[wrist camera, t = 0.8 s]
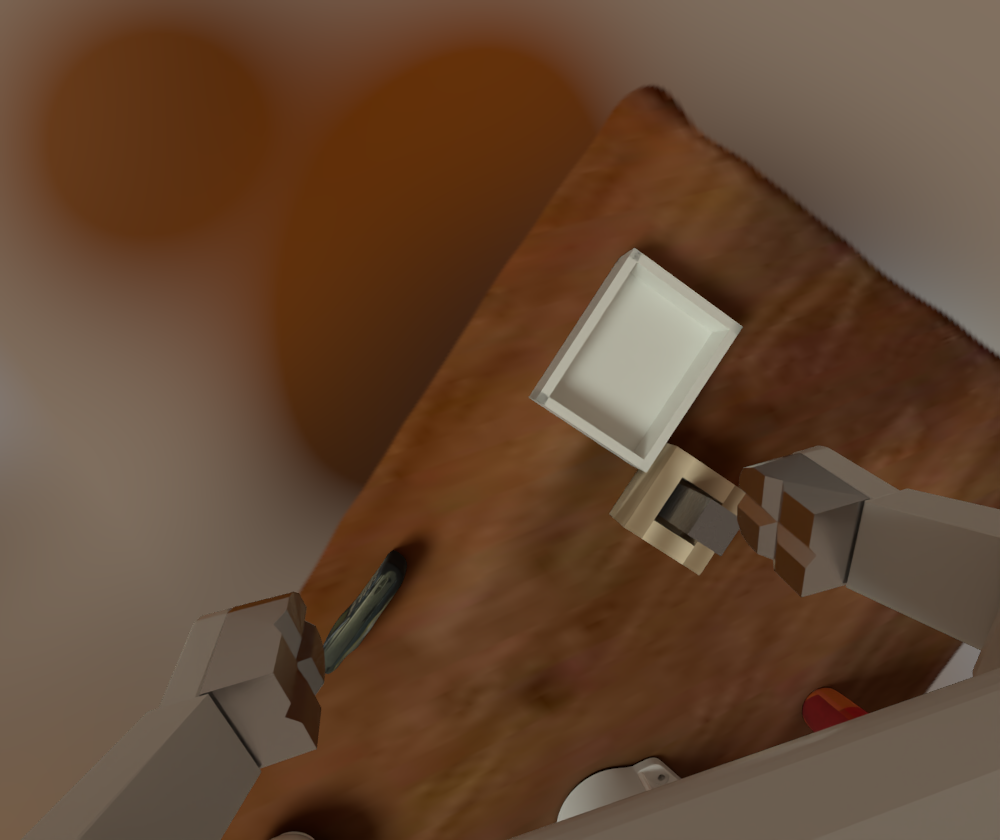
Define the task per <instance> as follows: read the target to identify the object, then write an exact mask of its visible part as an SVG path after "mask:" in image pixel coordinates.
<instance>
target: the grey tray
mask: <svg viewBox="0 0 1000 840" xmlns="http://www.w3.org/2000/svg"><path fill="white" fill-rule="evenodd" d="M741 329H742V326H741V325H740V324H738V323H737V322H736V321H734V320H733V319H731V318H730V317H729V316H727V315H726V314H725V313H723V312H722V311H721V310H719V309H718V308H716V307H715V306H714V305H712V304H711V303H710V302H708V301H707V300H705V299H704V298H703V297H701V296H700V295H699V294H697V293H696V292H695V291H693V290H692V289H690V288H689V287H688V286H686V285H685V284H684V283H682V282H681V281H679V280H678V279H677V278H675V277H674V276H673V275H671V274H670V273H669V272H667V271H666V270H664V269H663V268H662V267H660V266H659V265H658V264H656V263H655V262H653V261H652V260H651V259H649V258H648V257H647V256H645V255H644V254H643V253H641V252H640V251H638V250H637V249H636V248H633V249H632V250H630V251H629V252H627V253H626V254H624V255H623V256H621V257H620V258H619V259H618V261H617V262H616V264H615V265H614V267H613V268H612V270H611V272H610V273H609V275H608V276H607V278H606V279H605V281H604V282H603V284H602V285H601V287H600V288H599V290H598V292H597V293H596V295H595V296H594V298H593V299H592V301H591V302H590V304H589V305H588V307H587V308H586V310H585V312H584V313H583V315H582V316H581V318H580V319H579V321H578V322H577V324H576V325H575V327H574V328H573V330H572V332H571V333H570V335H569V336H568V338H567V339H566V341H565V342H564V344H563V345H562V347H561V348H560V350H559V352H558V353H557V355H556V356H555V358H554V359H553V361H552V362H551V364H550V365H549V367H548V368H547V370H546V372H545V373H544V375H543V376H542V378H541V379H540V381H539V382H538V384H537V385H536V387H535V388H534V390H533V392H532V393H531V395H530V396H529V398H530V399H531V400H533V401H535V402H536V403H538V404H539V405H541V406H542V407H544V408H545V409H547V410H548V411H550V412H551V413H553V414H554V415H556V416H557V417H559V418H560V419H562V420H563V421H565V422H566V423H568V424H569V425H571V426H573V427H574V428H576V429H577V430H579V431H580V432H582V433H583V434H585V435H586V436H588V437H589V438H591V439H592V440H594V441H595V442H597V443H598V444H600V445H601V446H603V447H604V448H606V449H607V450H609V451H611V452H612V453H614V454H615V455H617V456H618V457H620V458H621V459H623V460H624V461H626V462H627V463H629V464H630V465H632V466H634V467H636V468H638V469H640V470H642V471H644V472H646V473H647V471H648V470H649V468H650V467H651V465H652V464H653V462H654V461H655V459H656V458H657V456H658V455H659V453H660V452H661V450H662V449H663V447H664V446H665V444H666V443H667V441H668V440H669V438H670V436H671V435H672V433H673V432H674V430H675V429H676V427H677V426H678V424H679V423H680V421H681V420H682V418H683V417H684V415H685V414H686V412H687V411H688V409H689V408H690V406H691V405H692V403H693V402H694V400H695V399H696V397H697V396H698V394H699V393H700V391H701V389H702V388H703V386H704V385H705V383H706V382H707V380H708V379H709V377H710V376H711V374H712V373H713V371H714V370H715V368H716V367H717V365H718V364H719V362H720V361H721V359H722V358H723V356H724V355H725V353H726V352H727V350H728V349H729V347H730V346H731V344H732V342H733V341H734V339H735V338H736V336H737V335H738V333H739V332H740V330H741Z"/></svg>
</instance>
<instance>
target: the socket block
mask: <svg viewBox="0 0 1000 840" xmlns="http://www.w3.org/2000/svg"><path fill="white" fill-rule="evenodd" d="M678 483H679V484H681V485H683V486H686V487H688V488H690V489H692V490H694V491H696V492H698V493H700V494H702V495H704V496H706V497H708V498H711V499H712V500H714V501H715V502H717V503H718V504H720V505H721V506H723V507H724V508H726V509H727V510H729V511H730V512H732V513H733V514H735V515H736V516H737V505H738V504H739V503H740V501H741V500H742V498H743V497H744V495H745V493H744V492H743V491H742V490H741V489H740V488H738V487H737V486H735V485H734V484H733V483H731V482H730V481H728V480H727V479H725V478H724V477H722V476H721V475H719V474H718V473H716V472H715V471H713V470H712V469H710V468H709V467H707V466H706V465H704V464H703V463H701V462H700V461H698V460H697V459H695V458H694V457H692V456H691V455H690V454H688V453H687V452H685V451H684V450H682V449H681V448H679V447H678V446H675V445H672V444H668V443H666V444H665V446H664V447H663V449H662V450H661V452H660V453H659V455H658V456H657V458H656V459H655V461H654V462H653V464H652V465H651V467H650V468H649V470H648V471H647V473H646V472H644V471H642V470H640V469H638V471H637V472H636V474H635V475H634V477H633V478H632V480H631V481H630V483H629V484H628V486H627V487H626V489H625V490H624V492H623V493H622V495H621V496H620V498H619V500H618V501H617V503H616V504H615V506H614V507H613V509H612V510H611V512H610V513H609V514H610V515H611V516H612V517H613V518H614V519H615V520H616V521H617V522H619V523H620V524H621V525H622V526H623V527H624V528H626V529H627V530H629V531H631V532H632V533H634V534H635V535H637V536H638V537H640V538H642V539H643V540H645V541H646V542H648V543H649V544H651V545H653V546H654V547H656V548H657V549H659V550H660V551H662V552H664V553H665V554H667V555H668V556H670V557H671V558H673V559H675V560H676V561H678V562H679V563H681V564H683V565H684V566H686V567H687V568H689V569H690V570H692V571H694V572H695V573H697V574H698V575H700V574H701V572H702V571H703V569H704V568H705V566H706V565H707V563H708V562H709V560H710V559H711V557H712V556H713V554H714V553H715V552H714V551H712V550H710V549H709V548H707V547H706V546H704V545H703V544H701V543H700V542H698V541H697V540H695V539H693V538H692V537H690V536H689V535H687V534H686V533H684V532H683V531H681V530H680V529H678V528H677V527H676V526H674V525H673V524H671V523H670V522H668V521H667V520H665V519H664V518H662V517H661V516H659V515H658V513H659V512H660V510H661V509H662V507H663V506H664V504H665V503H666V501H667V500H668V498H669V497H670V495H671V494H672V492H673V491H674V489H675V488H676V486H677V485H678Z"/></svg>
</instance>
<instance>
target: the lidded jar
mask: <svg viewBox="0 0 1000 840" xmlns="http://www.w3.org/2000/svg"><path fill="white" fill-rule="evenodd" d="M270 840H315V839H314V838H312V837H311V836H310V835H308V834H306V833H303V832H298V831H291V832H286V833H283V834H280V835H279V836H277V837H274V838H272V839H270Z"/></svg>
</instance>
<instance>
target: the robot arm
mask: <svg viewBox="0 0 1000 840" xmlns="http://www.w3.org/2000/svg"><path fill="white" fill-rule="evenodd" d="M739 487H740V488H741V489H742V491H743V492H744V493H745V495H744V497H743V498H742V500H741V501H740V503H739V504H738V505H737V522H738V525H739V528H740V531H741V534H742V535H743V537H744V539H745V540H746V542H747V543H748V545H749V546H750V547H751V548H752V549H753V550H754V551H755V552H756V553H757V554H760V555H762V556H765V557H768V558H770V559H773V562H774V571H775V572H776V573H777V574H778V575H779V576H780V577H781V578H782V579H783V580H784V581H785V582H786V583H787V584H788V585H789V586H790V587H791V588H792V589H793V590H794V591H795V592H796V593H797V594H798V595H799V596H800V597H804V596H807V595H811V594H815V593H818V592H822V591H825V590H829V589H832V588H836V587H839V586H843V585H846V587H847V588H849V589H851V590H853V591H855V592H858V593H860V594H862V595H864V596H866V597H868V598H870V599H872V600H875V601H877V602H879V603H881V604H883V605H885V606H887V607H890V608H892V609H894V610H896V611H898V612H900V613H902V614H904V615H907V616H909V617H911V618H913V619H915V620H917V621H919V622H921V623H924V624H926V625H928V626H930V627H932V628H934V629H936V630H939V631H941V632H943V633H945V634H947V635H949V636H951V637H953V638H956V639H958V640H960V641H962V642H964V643H966V644H968V645H971V646H973V647H975V648H977V649H979V650H981V652H980V655H979V657H978V660H977V662H976V664H975V666H974V669H973V677H972V678H970V679H966V680H963V681H961V682H958V683H955V684H952V685H949V686H946V687H943V688H940V689H938V690H935V691H932V692H929V693H926V694H923V695H920V696H917V697H915V698H912V699H909V700H906V701H903V702H900V703H897V704H895V705H892V706H889V707H886V708H883V709H880V710H877V711H875V712H872V713H869V714H866V715H863V716H860V717H857V718H854V719H852V720H849V721H846V722H843V723H840V724H837V725H834V726H832V727H829V728H826V729H823V730H820V731H817V732H814V733H811V734H809V735H806V736H803V737H800V738H797V739H794V740H791V741H789V742H786V743H783V744H780V745H777V746H774V747H771V748H768V749H766V750H763V751H760V752H757V753H754V754H751V755H748V756H746V757H743V758H740V759H737V760H734V761H731V762H728V763H725V764H723V765H720V766H717V767H714V768H711V769H708V770H705V771H702V772H700V773H697V774H694V775H691V776H688V777H685V778H682V779H681V778H680V777H679V776H678V775H676V774H675V773H674V772H673V771H672V770H671V769H670V768H669V767H667V766H666V765H665V764H664V763H663V762H662V761H661V760H659V759H658V758H649V759H646V760H644V761H641V762H639V763H637V764H636V765H634V766H631V767H625V768H615V769H609V770H605V771H602V772H599V773H597V774H594V775H592V776H591V777H589V778H587V779H586V780H584V781H583V782H581V783H580V784H579V785H578V786H577V787H576V788H575V789H574V790H573V791H572V792H571V793H570V794H569V796H568V797H567V799H566V800H565V802H564V804H563V806H562V808H561V810H560V813H559V816H558V820H557V822H556V823H553V824H551V825H548V826H545V827H542V828H539V829H536V830H533V831H531V832H528V833H525V834H522V835H519V836H516V837H513V838H511V839H508V840H1000V510H999V509H995V508H990V507H986V506H982V505H977V504H973V503H969V502H964V501H960V500H955V499H951V498H947V497H942V496H938V495H934V494H929V493H925V492H920V491H916V490H912V489H905V490H901V491H899V490H898V489H896V488H894V487H893V486H891V485H889V484H888V483H886V482H884V481H883V480H881V479H879V478H878V477H876V476H874V475H873V474H871V473H869V472H868V471H866V470H864V469H863V468H861V467H859V466H858V465H856V464H854V463H853V462H851V461H849V460H848V459H846V458H844V457H843V456H841V455H839V454H838V453H836V452H834V451H833V450H831V449H829V448H827V447H823V446H815V447H812V448H809V449H805V450H802V451H799V452H795V453H793V454H791V455H787V456H783V457H780V458H776V459H773V460H769V461H766V462H762V463H759V464H755V465H752V466H748V467H745V468H743V470H742V472H741V474H740V478H739ZM306 608H307V607H306V605H305V604H304V602H303V600H302V598H301V596H300V594H299V593H296V592H291V593H287V594H283V595H279V596H275V597H271V598H267V599H263V600H259V601H255V602H251V603H247V604H243V605H239V606H235V607H233V608H230V609H225V610H221V611H217V612H214V613H210V614H206V615H202V616H201V617H200V618H199V619H197V620H196V621H195V622H194V624H193V626H192V629H191V631H190V634H189V636H188V638H187V641H186V644H185V646H184V648H183V650H182V653H181V655H180V658H179V660H178V663H177V665H176V667H175V670H174V672H173V674H172V677H171V679H170V682H169V684H168V686H167V689H166V691H165V694H164V696H163V699H162V701H161V703H160V706H159V708H158V709H155V710H151V711H148V712H147V713H146V714H145V715H144V716H143V717H142V718H141V719H140V720H139V721H138V722H137V723H136V724H135V725H134V726H133V727H132V728H131V729H130V730H129V731H128V732H127V733H126V734H125V735H124V736H123V737H122V738H121V739H120V740H119V741H118V742H117V743H116V744H115V745H114V746H113V747H112V748H111V749H110V750H109V751H108V752H107V753H106V754H105V755H104V756H103V757H102V758H101V759H100V760H99V761H98V762H97V763H96V764H95V765H94V766H93V768H92V769H90V770H89V771H88V772H87V773H86V774H85V775H84V777H82V779H80V781H78V783H76V785H75V786H74V787H73V788H72V789H71V790H70V791H69V792H68V793H67V794H66V795H65V796H64V797H63V798H62V799H61V800H60V801H59V802H58V803H57V804H56V805H55V806H54V807H53V808H52V809H51V810H50V811H49V812H48V813H47V814H46V815H45V816H44V817H43V818H42V819H41V820H40V821H39V822H38V823H37V824H36V825H35V826H34V827H33V828H32V829H31V830H30V831H29V832H28V833H27V834H26V835H25V836H24V837H23V838H22V839H21V840H221V838H222V836H223V835H224V833H225V831H226V830H227V828H228V826H229V825H230V823H231V821H232V820H233V818H234V816H235V815H236V813H237V811H238V810H239V808H240V806H241V805H242V803H243V801H244V800H245V798H246V796H247V795H248V793H249V791H250V790H251V788H252V786H253V785H254V783H255V781H256V780H257V778H258V776H259V775H260V773H261V770H260V768H263V767H266V766H269V765H272V764H274V763H277V762H280V761H283V760H286V759H289V758H292V757H295V756H298V755H301V754H304V753H306V752H309V751H312V750H315V749H317V743H318V734H319V725H320V716H321V707H320V705H319V703H318V701H317V699H316V697H315V695H316V694H317V692H318V691H319V689H320V688H321V686H322V685H323V684H324V678H325V657H324V648H323V644H322V641H321V637H320V635H319V632H318V630H317V628H316V626H315V625H313V624H311V623H308V622H306V621H305V615H306ZM661 774H662V775H661ZM659 775H661V776H659Z"/></svg>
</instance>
